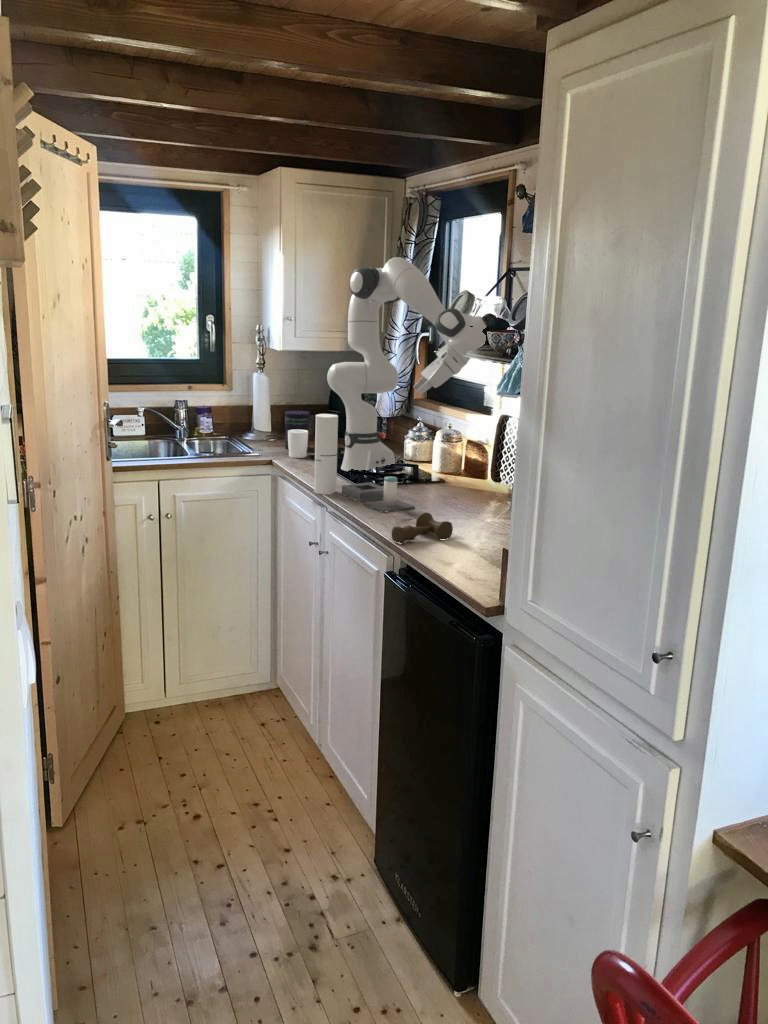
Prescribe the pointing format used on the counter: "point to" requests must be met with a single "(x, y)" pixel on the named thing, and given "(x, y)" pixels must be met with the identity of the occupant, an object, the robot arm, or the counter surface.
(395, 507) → the mat
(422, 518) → the kendama
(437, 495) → the counter surface
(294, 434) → the white cup
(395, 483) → the white bottle teal cap
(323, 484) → the cylindrical container
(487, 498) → the counter surface
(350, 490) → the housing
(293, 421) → the storage jar
